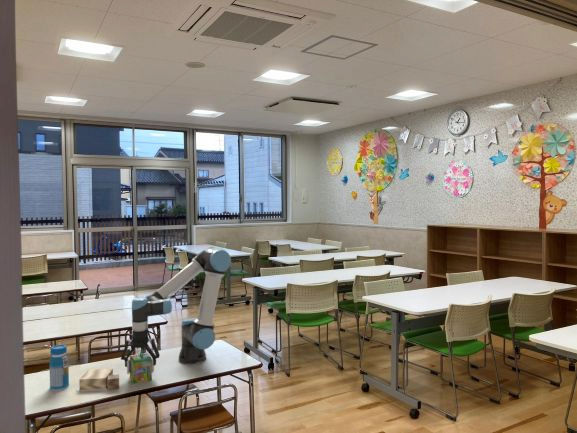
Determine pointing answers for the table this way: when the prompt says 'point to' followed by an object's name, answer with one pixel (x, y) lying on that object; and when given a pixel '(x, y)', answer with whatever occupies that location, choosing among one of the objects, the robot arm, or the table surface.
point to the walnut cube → (113, 382)
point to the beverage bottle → (59, 368)
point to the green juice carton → (140, 367)
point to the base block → (95, 379)
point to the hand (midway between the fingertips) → (140, 372)
